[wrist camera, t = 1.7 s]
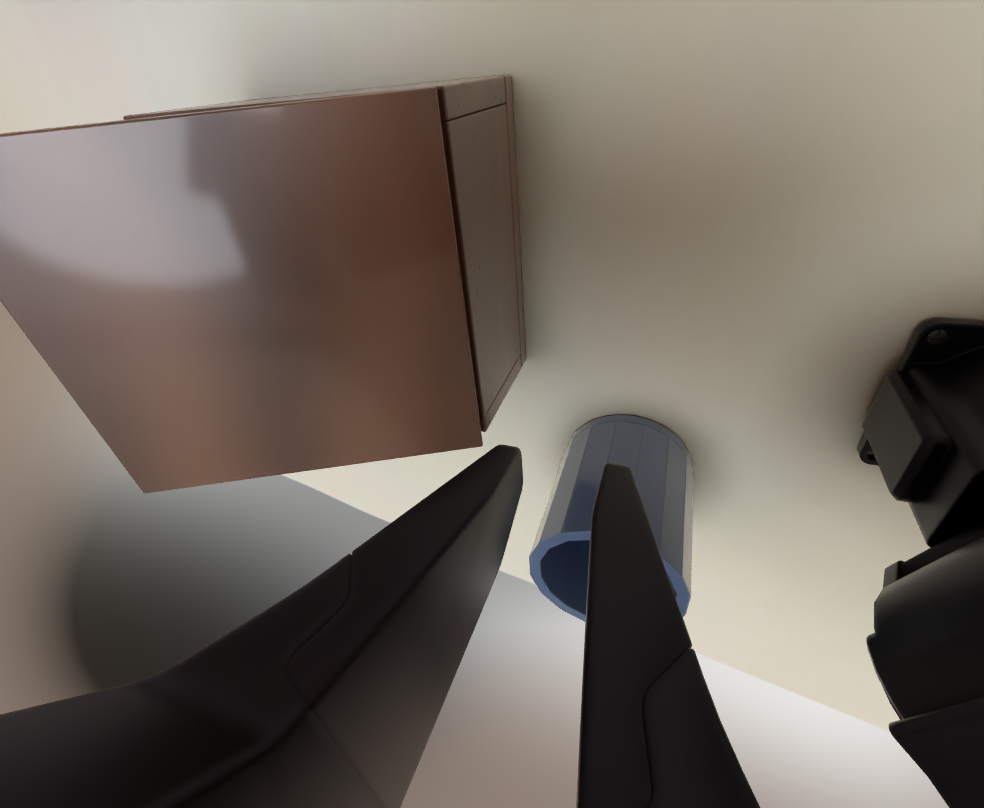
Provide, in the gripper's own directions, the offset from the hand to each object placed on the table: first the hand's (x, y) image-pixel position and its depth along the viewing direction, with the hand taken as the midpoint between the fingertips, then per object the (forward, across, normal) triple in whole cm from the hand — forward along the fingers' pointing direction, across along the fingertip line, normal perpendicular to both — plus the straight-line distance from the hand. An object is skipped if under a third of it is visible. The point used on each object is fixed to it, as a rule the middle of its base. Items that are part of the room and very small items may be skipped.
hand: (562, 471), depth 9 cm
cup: (+13, 0, +12) cm, 17 cm away
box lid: (+4, +11, 0) cm, 12 cm away
